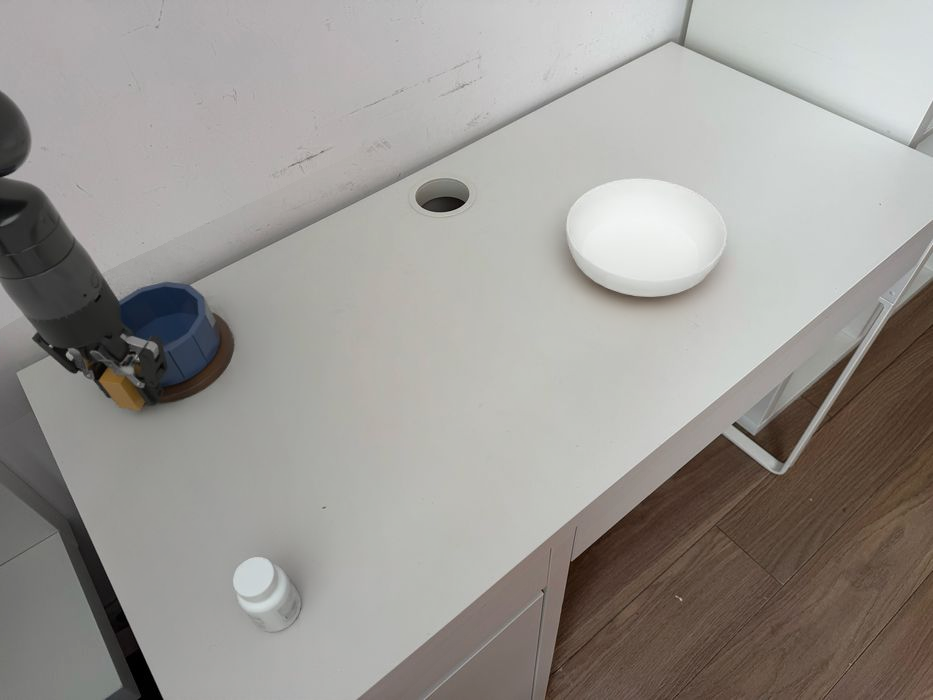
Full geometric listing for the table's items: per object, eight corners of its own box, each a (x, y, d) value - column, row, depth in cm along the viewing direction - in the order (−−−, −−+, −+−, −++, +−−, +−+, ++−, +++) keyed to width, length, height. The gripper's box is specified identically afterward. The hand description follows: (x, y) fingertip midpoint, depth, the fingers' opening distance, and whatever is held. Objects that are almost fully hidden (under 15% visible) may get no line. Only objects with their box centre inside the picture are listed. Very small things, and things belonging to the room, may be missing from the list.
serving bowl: (152, 307, 87) (134, 277, 83) (236, 319, 85) (221, 288, 81) (85, 403, 78) (61, 374, 73) (177, 419, 76) (157, 390, 71)
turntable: (138, 424, 77) (133, 418, 76) (102, 348, 85) (98, 342, 84) (252, 364, 82) (249, 358, 81) (209, 298, 90) (205, 291, 89)
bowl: (740, 247, 90) (752, 210, 86) (675, 341, 81) (685, 305, 76) (608, 197, 98) (612, 161, 94) (535, 277, 89) (536, 241, 84)
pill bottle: (297, 578, 65) (275, 543, 59) (305, 623, 62) (283, 591, 56) (250, 594, 64) (224, 560, 58) (256, 640, 61) (229, 609, 55)
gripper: (-32, 307, 63) (62, 413, 76) (104, 327, 60) (177, 433, 74) (19, 252, 68) (99, 361, 81) (147, 269, 65) (209, 378, 78)
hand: (136, 395), depth 77 cm, fingers open, 4 cm apart
